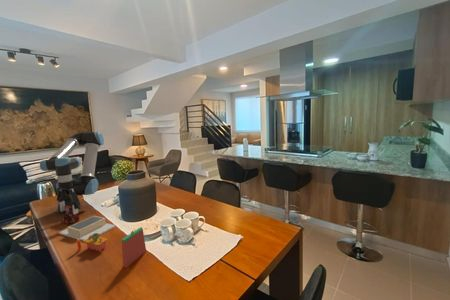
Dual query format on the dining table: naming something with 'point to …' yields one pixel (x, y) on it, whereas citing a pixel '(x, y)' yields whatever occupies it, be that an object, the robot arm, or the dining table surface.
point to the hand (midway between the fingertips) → (69, 212)
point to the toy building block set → (130, 245)
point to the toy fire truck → (69, 215)
